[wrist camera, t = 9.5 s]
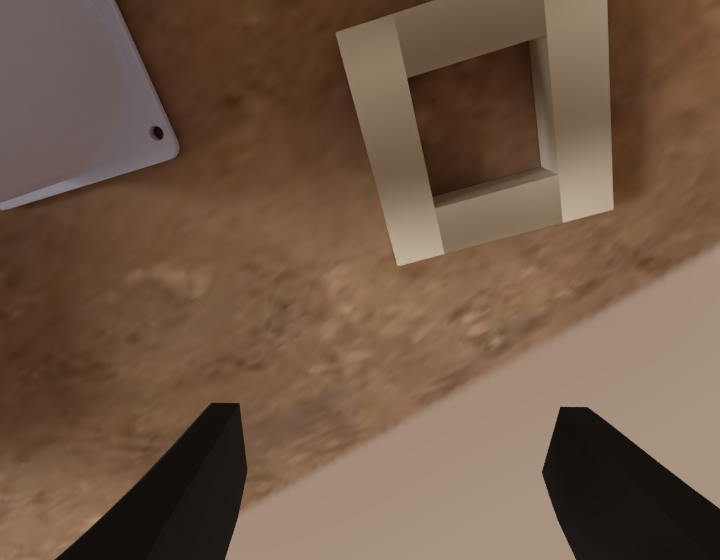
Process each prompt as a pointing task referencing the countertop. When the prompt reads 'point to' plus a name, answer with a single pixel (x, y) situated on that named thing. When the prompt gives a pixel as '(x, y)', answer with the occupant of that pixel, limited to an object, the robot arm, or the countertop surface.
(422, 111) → the countertop surface
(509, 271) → the countertop surface
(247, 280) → the countertop surface
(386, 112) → the pin collar
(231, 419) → the robot arm
